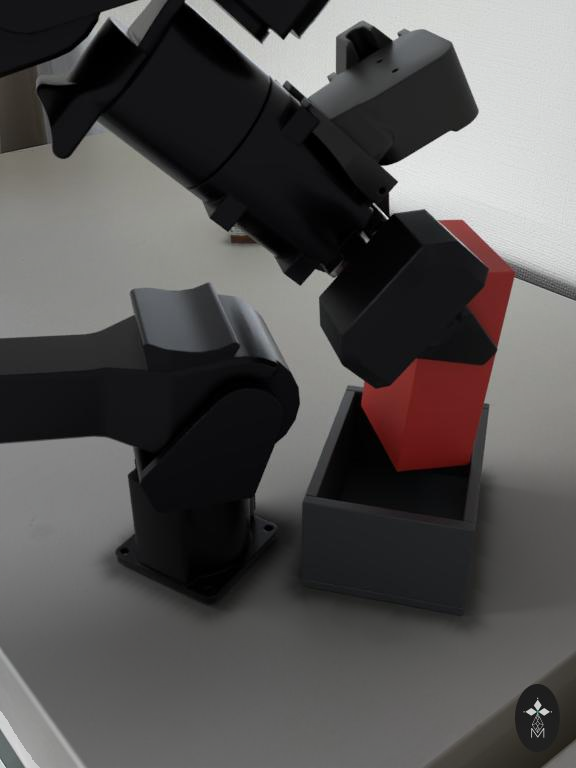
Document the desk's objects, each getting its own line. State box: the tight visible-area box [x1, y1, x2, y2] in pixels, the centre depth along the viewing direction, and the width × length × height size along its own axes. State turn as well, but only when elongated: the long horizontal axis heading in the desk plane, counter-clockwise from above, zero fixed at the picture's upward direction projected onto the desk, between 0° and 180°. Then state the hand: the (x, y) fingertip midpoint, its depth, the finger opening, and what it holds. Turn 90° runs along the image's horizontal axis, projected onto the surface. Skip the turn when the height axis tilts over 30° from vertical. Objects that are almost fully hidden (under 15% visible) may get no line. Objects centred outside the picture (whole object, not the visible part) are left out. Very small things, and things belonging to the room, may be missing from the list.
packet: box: [361, 219, 516, 472], centre depth 44 cm, size 4×6×11 cm, turn 14°
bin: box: [301, 384, 490, 616], centre depth 47 cm, size 11×8×6 cm
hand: (463, 326), depth 43 cm, fingers closed on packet, 6 cm apart
